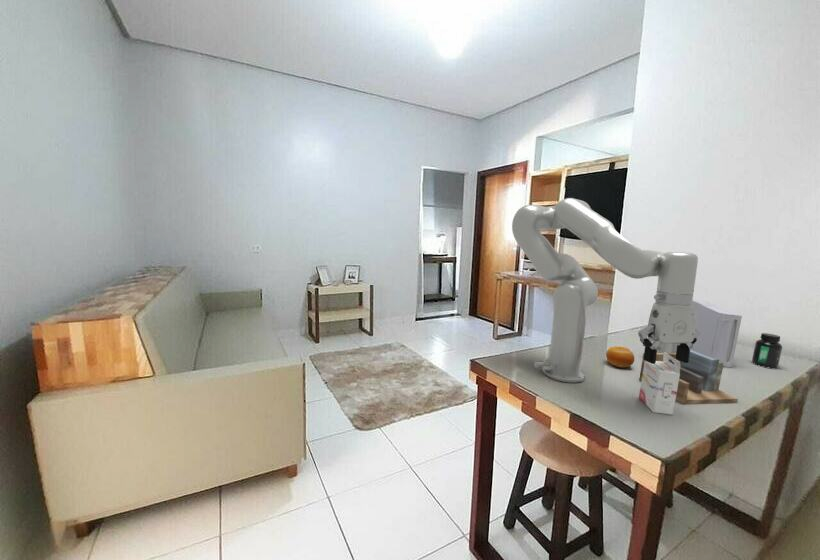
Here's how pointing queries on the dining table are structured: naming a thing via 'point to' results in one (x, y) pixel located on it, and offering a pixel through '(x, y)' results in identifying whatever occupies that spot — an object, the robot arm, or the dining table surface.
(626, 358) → the fruit
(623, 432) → the dining table surface
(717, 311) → the game console
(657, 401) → the ink cartridge box
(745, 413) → the dining table surface
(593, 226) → the robot arm
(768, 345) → the supplement bottle
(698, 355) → the wooden slotted rack
